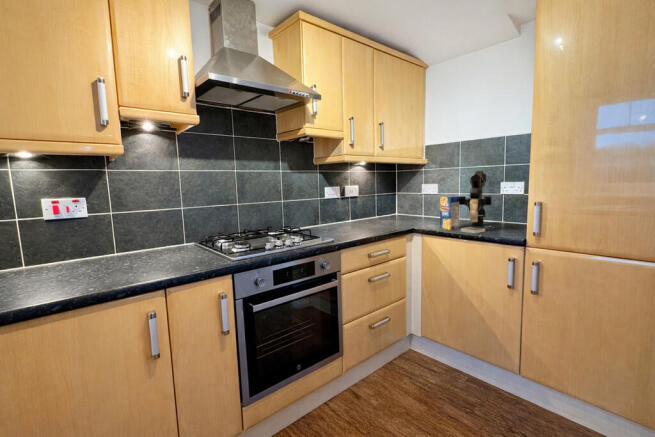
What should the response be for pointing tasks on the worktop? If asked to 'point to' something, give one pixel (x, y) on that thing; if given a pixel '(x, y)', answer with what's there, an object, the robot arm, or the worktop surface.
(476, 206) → the maple peg
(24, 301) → the worktop surface
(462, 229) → the hole plate
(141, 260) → the worktop surface
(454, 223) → the blue yellow food box
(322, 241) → the worktop surface
